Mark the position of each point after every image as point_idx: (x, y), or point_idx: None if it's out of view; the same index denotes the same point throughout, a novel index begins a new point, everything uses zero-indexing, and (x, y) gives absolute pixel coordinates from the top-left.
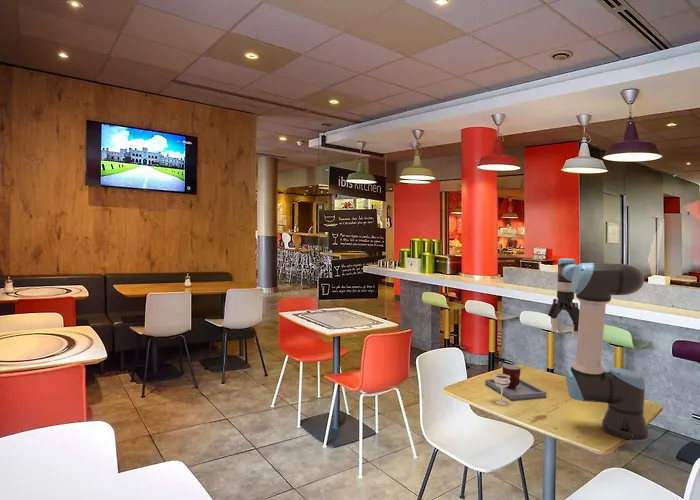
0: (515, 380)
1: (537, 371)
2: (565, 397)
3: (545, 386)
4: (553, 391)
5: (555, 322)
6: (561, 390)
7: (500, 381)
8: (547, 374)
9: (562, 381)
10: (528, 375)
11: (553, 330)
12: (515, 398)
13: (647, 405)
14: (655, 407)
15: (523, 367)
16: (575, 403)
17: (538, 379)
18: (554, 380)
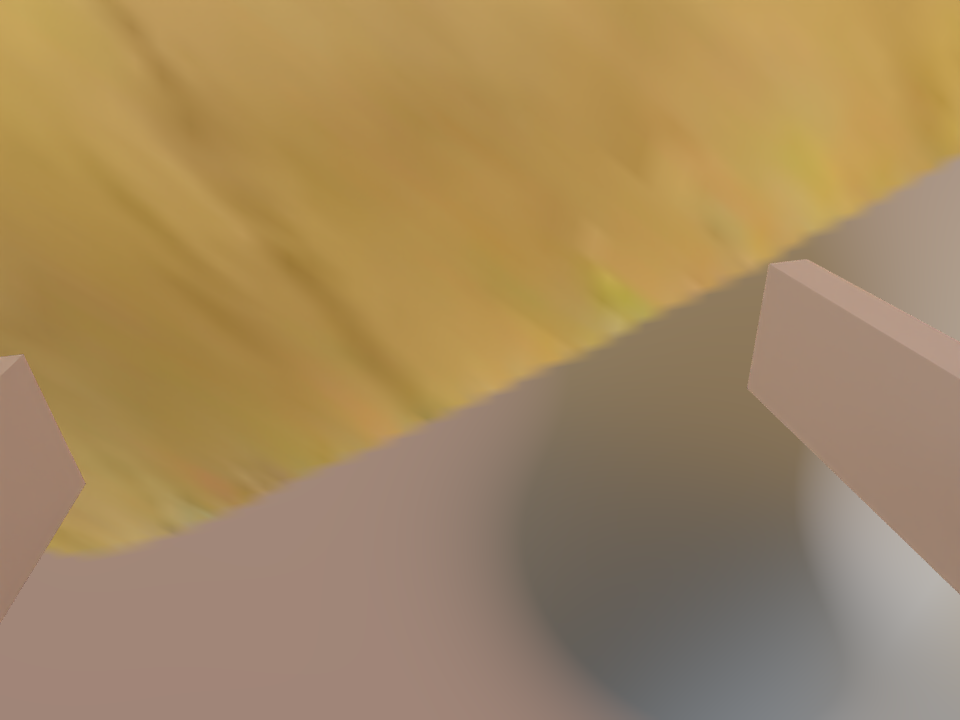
0: None
1: (812, 211)
2: (177, 22)
3: (477, 25)
4: (341, 11)
5: (943, 495)
6: (362, 112)
7: None
8: (727, 247)
9: (559, 263)
10: (766, 59)
11: (783, 307)
12: None
13: None
14: None
15: (936, 153)
16: (13, 10)
17: (652, 85)
18: (594, 214)
